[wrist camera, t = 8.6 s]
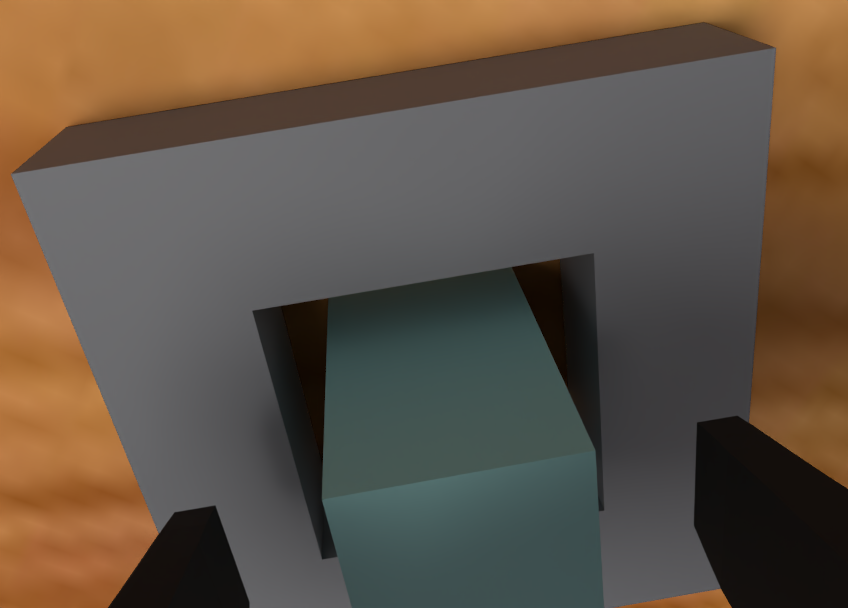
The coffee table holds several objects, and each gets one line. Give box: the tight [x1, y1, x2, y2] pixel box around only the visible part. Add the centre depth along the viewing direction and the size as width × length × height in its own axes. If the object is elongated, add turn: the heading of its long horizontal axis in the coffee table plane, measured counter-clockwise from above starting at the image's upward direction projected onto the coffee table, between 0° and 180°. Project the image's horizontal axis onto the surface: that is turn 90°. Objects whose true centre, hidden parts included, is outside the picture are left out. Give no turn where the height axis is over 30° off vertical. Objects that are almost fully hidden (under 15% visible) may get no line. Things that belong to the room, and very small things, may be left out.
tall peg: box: [322, 267, 604, 608], centre depth 13 cm, size 4×4×6 cm
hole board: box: [11, 23, 776, 608], centre depth 15 cm, size 11×11×2 cm
